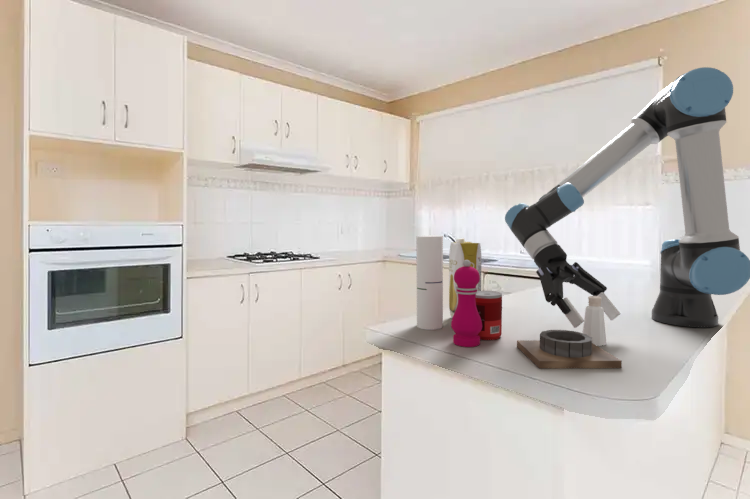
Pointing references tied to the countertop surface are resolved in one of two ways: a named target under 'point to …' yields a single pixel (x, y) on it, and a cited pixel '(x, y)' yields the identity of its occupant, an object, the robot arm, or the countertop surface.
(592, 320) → the pepper shaker
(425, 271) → the cylindrical container
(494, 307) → the canned food
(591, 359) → the collar plate
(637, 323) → the countertop surface
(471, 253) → the juice carton
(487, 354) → the countertop surface
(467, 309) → the pepper mill
